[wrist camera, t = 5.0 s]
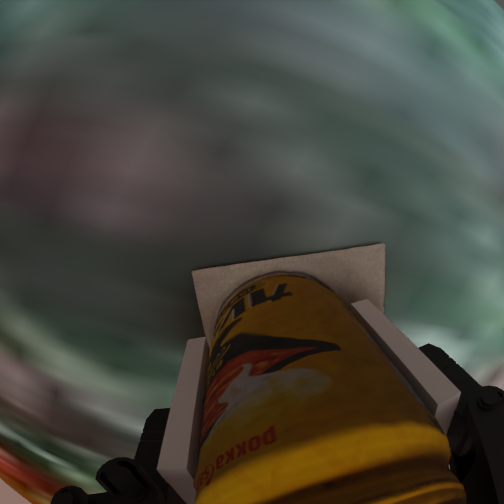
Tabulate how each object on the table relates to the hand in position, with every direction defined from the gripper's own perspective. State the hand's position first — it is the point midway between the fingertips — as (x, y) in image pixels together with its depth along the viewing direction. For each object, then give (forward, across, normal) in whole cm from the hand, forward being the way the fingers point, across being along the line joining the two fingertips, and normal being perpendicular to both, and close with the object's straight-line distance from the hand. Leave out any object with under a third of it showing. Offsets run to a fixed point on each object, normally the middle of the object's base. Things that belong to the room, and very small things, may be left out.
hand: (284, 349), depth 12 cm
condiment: (+2, +1, 0) cm, 2 cm away
